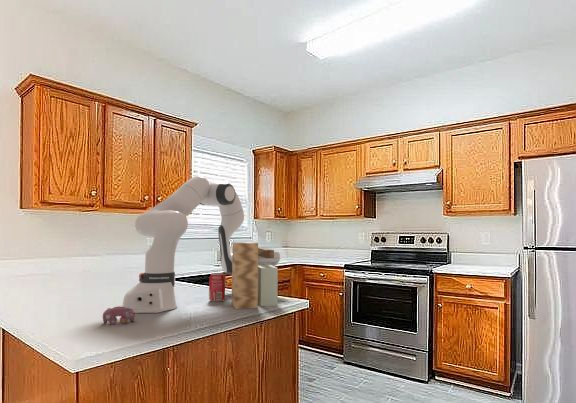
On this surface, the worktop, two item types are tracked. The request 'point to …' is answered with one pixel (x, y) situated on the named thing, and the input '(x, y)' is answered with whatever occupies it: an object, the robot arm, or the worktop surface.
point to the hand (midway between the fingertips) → (261, 250)
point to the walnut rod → (266, 253)
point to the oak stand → (245, 275)
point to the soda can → (217, 287)
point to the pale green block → (267, 285)
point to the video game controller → (118, 311)
